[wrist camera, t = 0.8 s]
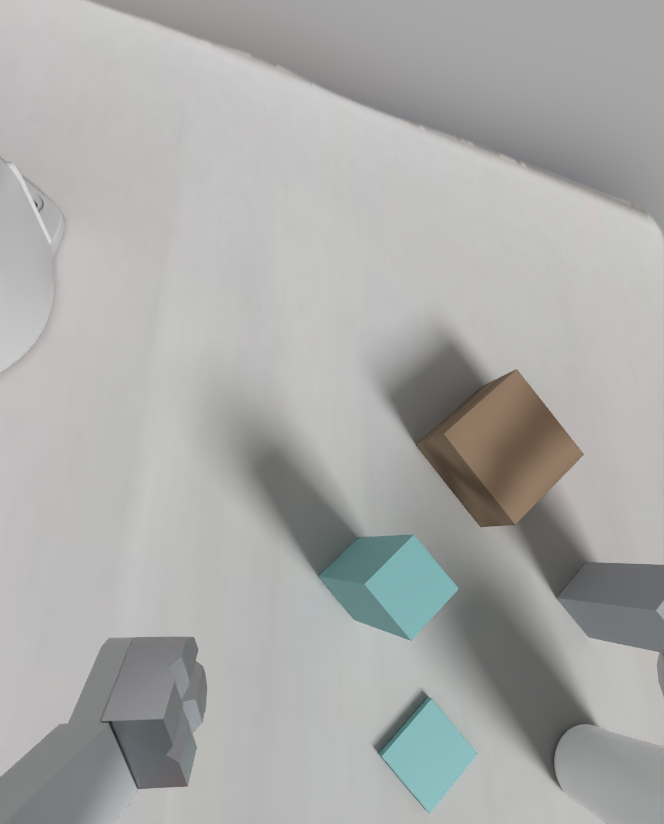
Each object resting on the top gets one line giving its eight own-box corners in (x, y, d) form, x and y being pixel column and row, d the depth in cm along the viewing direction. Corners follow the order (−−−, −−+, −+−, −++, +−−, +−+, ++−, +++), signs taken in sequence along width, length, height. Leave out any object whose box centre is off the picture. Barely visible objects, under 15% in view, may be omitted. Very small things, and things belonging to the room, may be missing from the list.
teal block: (318, 576, 42) (364, 584, 33) (358, 537, 44) (413, 534, 34) (354, 620, 42) (411, 640, 33) (394, 580, 44) (459, 588, 34)
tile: (378, 753, 41) (381, 756, 40) (428, 696, 43) (431, 698, 42) (425, 809, 41) (429, 813, 41) (473, 751, 43) (477, 753, 42)
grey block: (556, 597, 47) (656, 610, 38) (586, 562, 48) (689, 565, 39) (588, 637, 47) (696, 659, 38) (617, 600, 48) (728, 613, 39)
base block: (414, 445, 47) (443, 433, 42) (482, 386, 50) (516, 369, 45) (479, 527, 47) (515, 524, 42) (543, 463, 50) (583, 454, 45)
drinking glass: (594, 693, 46) (786, 757, 32) (634, 779, 46) (848, 882, 32) (526, 742, 44) (701, 834, 30) (567, 832, 43) (765, 969, 29)
